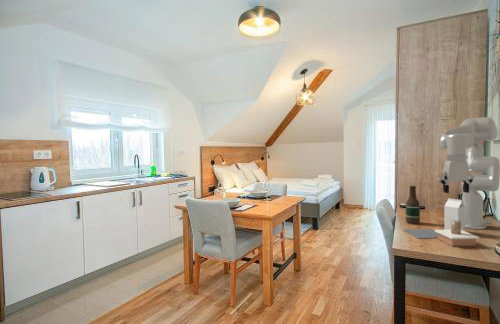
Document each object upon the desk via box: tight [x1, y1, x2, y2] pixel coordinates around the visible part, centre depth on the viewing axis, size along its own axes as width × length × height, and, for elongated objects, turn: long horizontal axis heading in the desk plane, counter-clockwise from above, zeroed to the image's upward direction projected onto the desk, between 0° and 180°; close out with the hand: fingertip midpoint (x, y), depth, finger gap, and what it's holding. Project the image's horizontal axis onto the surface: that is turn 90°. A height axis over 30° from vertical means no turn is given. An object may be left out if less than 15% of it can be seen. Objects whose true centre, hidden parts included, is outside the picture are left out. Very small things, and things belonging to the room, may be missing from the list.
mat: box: [402, 228, 438, 240], centre depth 156 cm, size 16×16×1 cm
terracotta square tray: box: [437, 233, 477, 248], centre depth 141 cm, size 11×11×4 cm
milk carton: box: [443, 197, 466, 232], centre depth 157 cm, size 7×7×19 cm
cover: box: [434, 221, 480, 240], centre depth 140 cm, size 13×13×7 cm
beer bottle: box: [405, 185, 421, 225], centre depth 178 cm, size 8×8×24 cm
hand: (455, 192), depth 139 cm, fingers open, 9 cm apart
